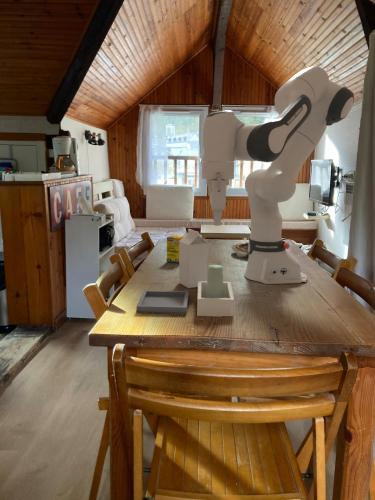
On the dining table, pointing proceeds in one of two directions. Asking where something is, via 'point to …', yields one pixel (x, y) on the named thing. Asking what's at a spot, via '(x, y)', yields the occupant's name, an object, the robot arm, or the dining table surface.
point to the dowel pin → (215, 281)
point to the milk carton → (192, 259)
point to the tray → (163, 302)
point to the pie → (241, 250)
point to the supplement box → (173, 248)
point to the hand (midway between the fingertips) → (216, 222)
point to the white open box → (215, 301)
